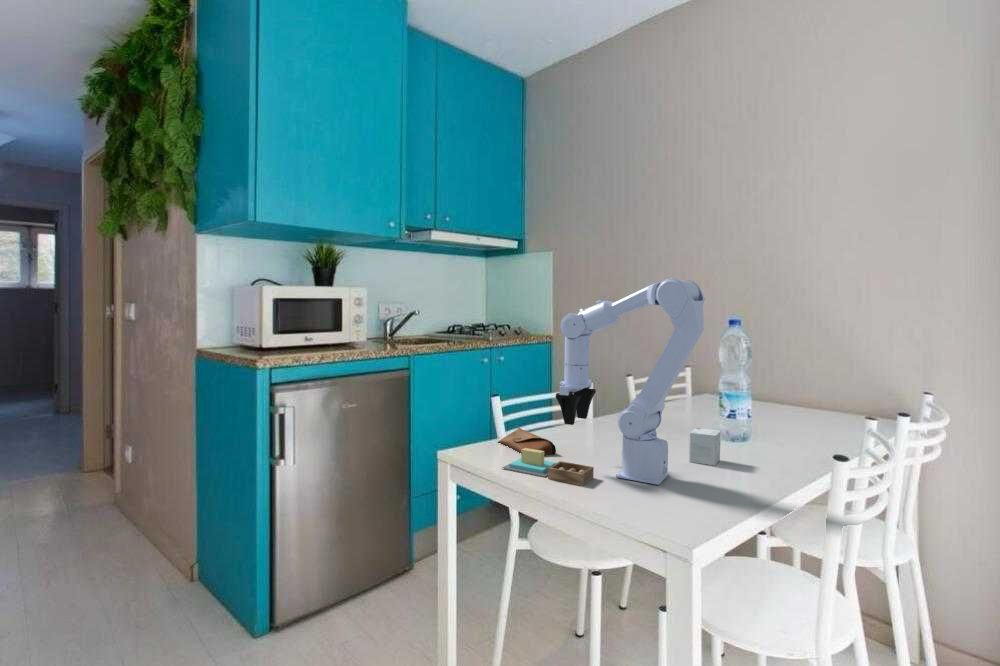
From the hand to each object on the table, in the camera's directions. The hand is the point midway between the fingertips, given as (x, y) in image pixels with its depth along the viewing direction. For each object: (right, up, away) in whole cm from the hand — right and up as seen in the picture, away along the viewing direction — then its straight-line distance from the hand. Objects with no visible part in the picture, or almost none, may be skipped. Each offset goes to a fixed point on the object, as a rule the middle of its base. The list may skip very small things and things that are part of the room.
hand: (575, 421), depth 127 cm
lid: (-10, -10, -4) cm, 15 cm away
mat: (-11, -10, -4) cm, 15 cm away
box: (-3, -11, -11) cm, 16 cm away
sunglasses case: (-12, -10, +13) cm, 20 cm away
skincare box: (+32, -10, +2) cm, 33 cm away
